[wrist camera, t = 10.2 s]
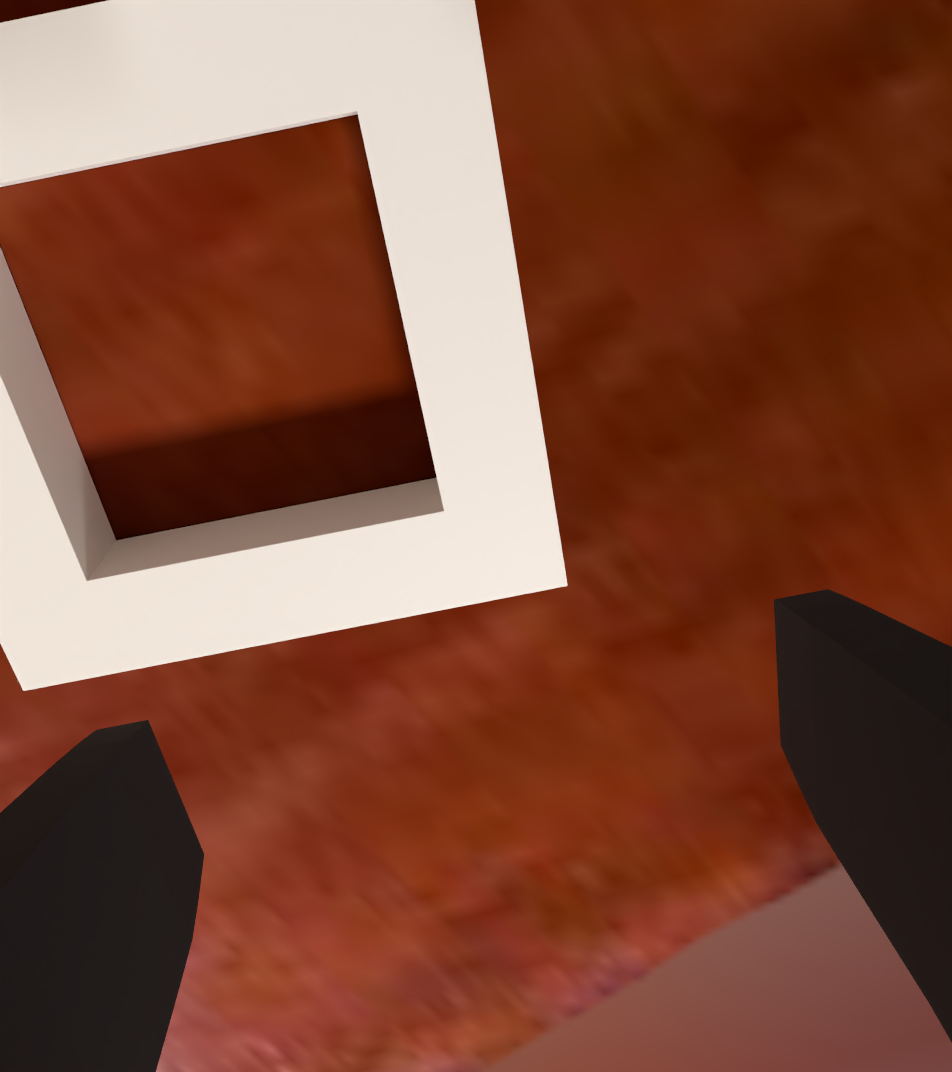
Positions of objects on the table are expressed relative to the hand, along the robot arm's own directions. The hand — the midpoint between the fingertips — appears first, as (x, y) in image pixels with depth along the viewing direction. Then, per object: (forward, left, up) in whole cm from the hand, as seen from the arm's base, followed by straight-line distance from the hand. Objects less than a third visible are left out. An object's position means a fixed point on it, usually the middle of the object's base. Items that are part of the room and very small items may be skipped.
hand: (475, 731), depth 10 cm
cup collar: (+4, -3, -10) cm, 12 cm away
